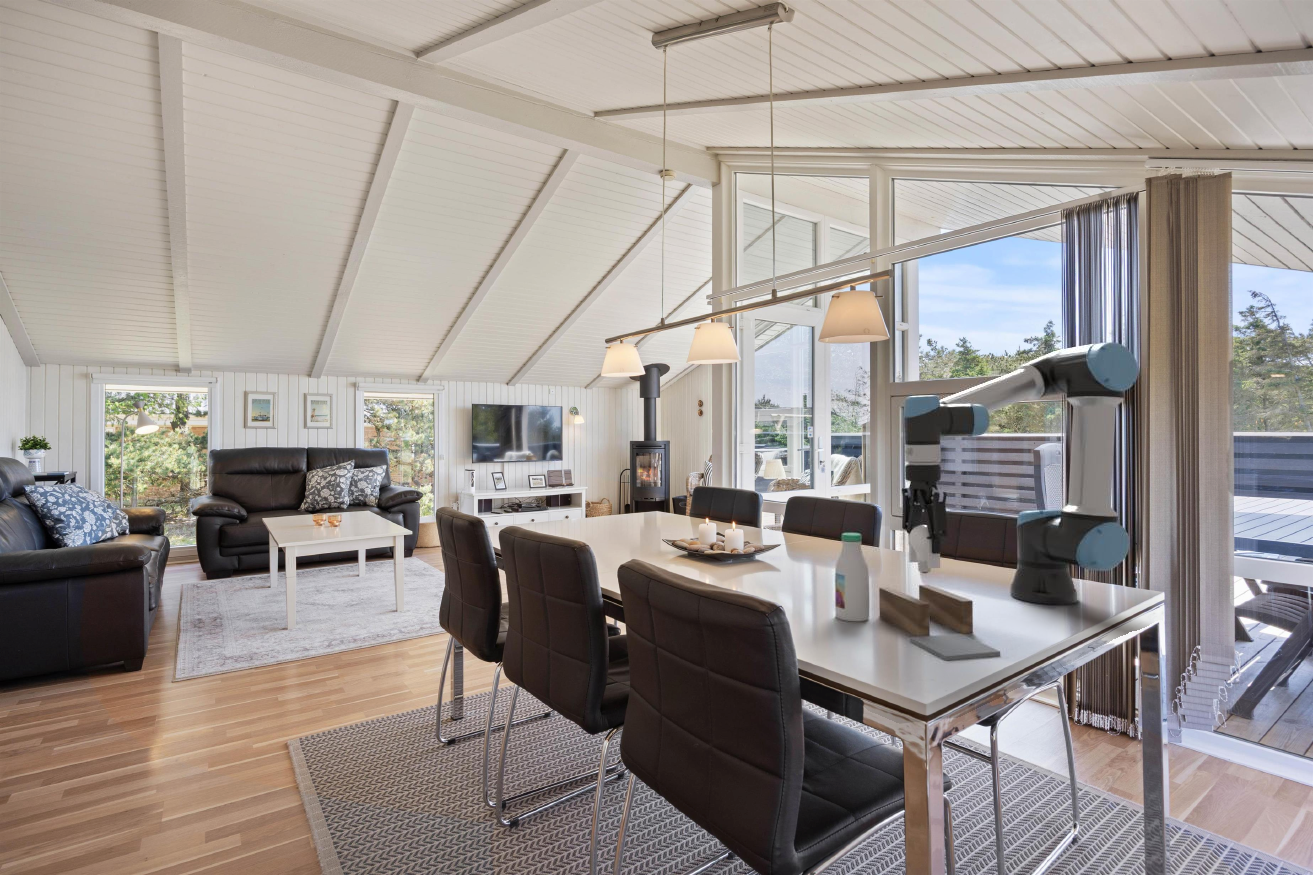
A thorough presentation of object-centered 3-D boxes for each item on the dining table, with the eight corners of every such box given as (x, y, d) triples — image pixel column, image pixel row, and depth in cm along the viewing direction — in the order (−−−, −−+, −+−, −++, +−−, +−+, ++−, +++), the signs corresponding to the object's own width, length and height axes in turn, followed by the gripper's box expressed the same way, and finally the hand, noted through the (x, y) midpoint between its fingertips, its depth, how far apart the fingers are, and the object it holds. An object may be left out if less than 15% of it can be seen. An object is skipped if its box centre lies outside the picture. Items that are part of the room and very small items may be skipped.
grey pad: (960, 636, 141) (960, 633, 141) (1000, 655, 130) (1000, 651, 130) (909, 641, 139) (909, 637, 139) (945, 660, 127) (945, 656, 127)
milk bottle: (871, 615, 159) (870, 532, 159) (867, 623, 152) (866, 536, 152) (838, 612, 162) (837, 530, 162) (832, 620, 155) (832, 535, 155)
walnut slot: (928, 613, 160) (928, 584, 160) (972, 632, 144) (972, 600, 144) (879, 616, 157) (879, 587, 157) (919, 637, 142) (918, 604, 142)
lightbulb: (942, 576, 147) (941, 527, 147) (912, 575, 148) (911, 526, 148) (936, 570, 153) (935, 523, 153) (907, 569, 155) (906, 522, 154)
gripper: (884, 462, 159) (886, 557, 159) (933, 466, 140) (935, 574, 141) (912, 461, 161) (914, 556, 161) (965, 464, 142) (966, 572, 142)
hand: (924, 564), depth 151 cm, fingers closed on lightbulb, 6 cm apart
